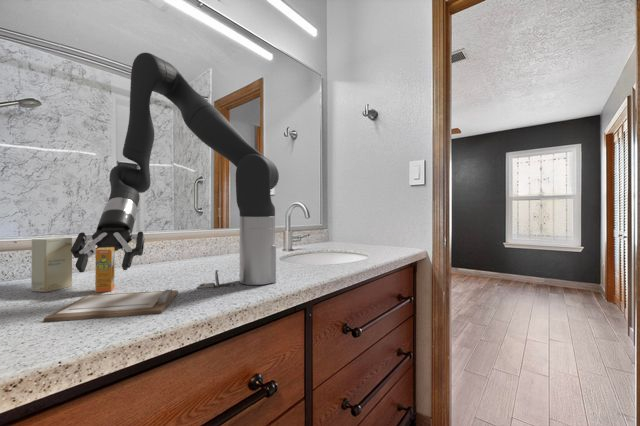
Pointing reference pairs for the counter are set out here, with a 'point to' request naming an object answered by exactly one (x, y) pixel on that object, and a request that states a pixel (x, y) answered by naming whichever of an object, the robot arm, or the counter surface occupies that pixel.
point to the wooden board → (115, 305)
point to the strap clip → (212, 285)
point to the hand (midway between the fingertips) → (102, 269)
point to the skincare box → (51, 264)
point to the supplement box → (104, 269)
